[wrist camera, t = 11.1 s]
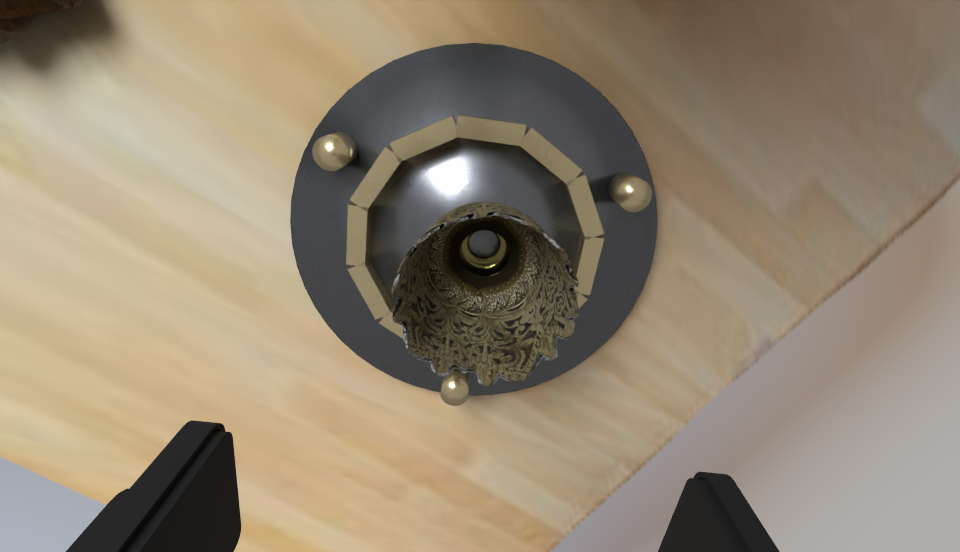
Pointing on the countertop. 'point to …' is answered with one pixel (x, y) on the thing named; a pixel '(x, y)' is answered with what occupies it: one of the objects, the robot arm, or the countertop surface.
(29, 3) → the bolt
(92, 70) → the countertop surface
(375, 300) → the carrier plate
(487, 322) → the dark hollow rounded piece
